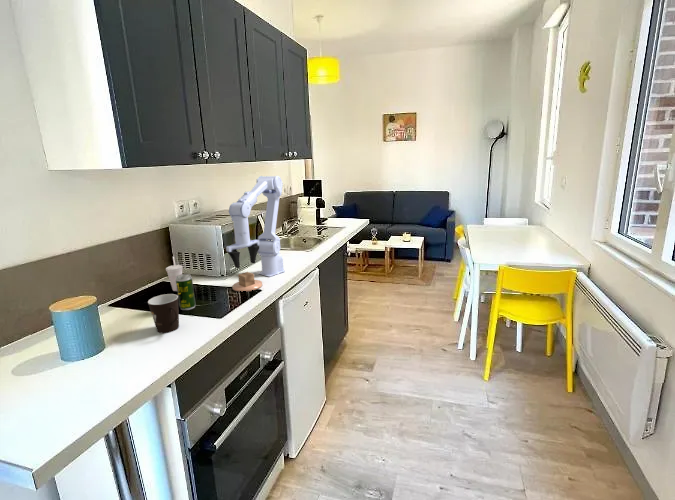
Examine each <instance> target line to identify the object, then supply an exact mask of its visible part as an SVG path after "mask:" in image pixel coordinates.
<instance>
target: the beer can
mask: <svg viewBox="0 0 675 500" xmlns="http://www.w3.org/2000/svg"><path fill="white" fill-rule="evenodd" d="M176 286H177V291H176V292H177V295H178V306H179V308H180V310H182V311H190V310H193V309H195V308H196V305H197V304H196V297H195V296H196V295H195V291H194V289H195V288H194V283H193V277H192V274H190V273H182V275H178V276H176Z"/></svg>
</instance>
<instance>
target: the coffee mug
mask: <svg viewBox="0 0 675 500" xmlns="http://www.w3.org/2000/svg"><path fill="white" fill-rule="evenodd" d="M147 305H148V307H149V311H150V314H151V317H152V319H153V323H154V326H155V328H156V331H157V332H158V334H168V333H171V332H172V333H173V332H174V331H177V330H178V329H179V327H180V320H179V319H180V318H179V317H180V316H179V315H180V313H179V298H178V294H174V293H167V294H165V293H164V294H160V295H157V296H153V297H151V298H150V299H148V301H147Z"/></svg>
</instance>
